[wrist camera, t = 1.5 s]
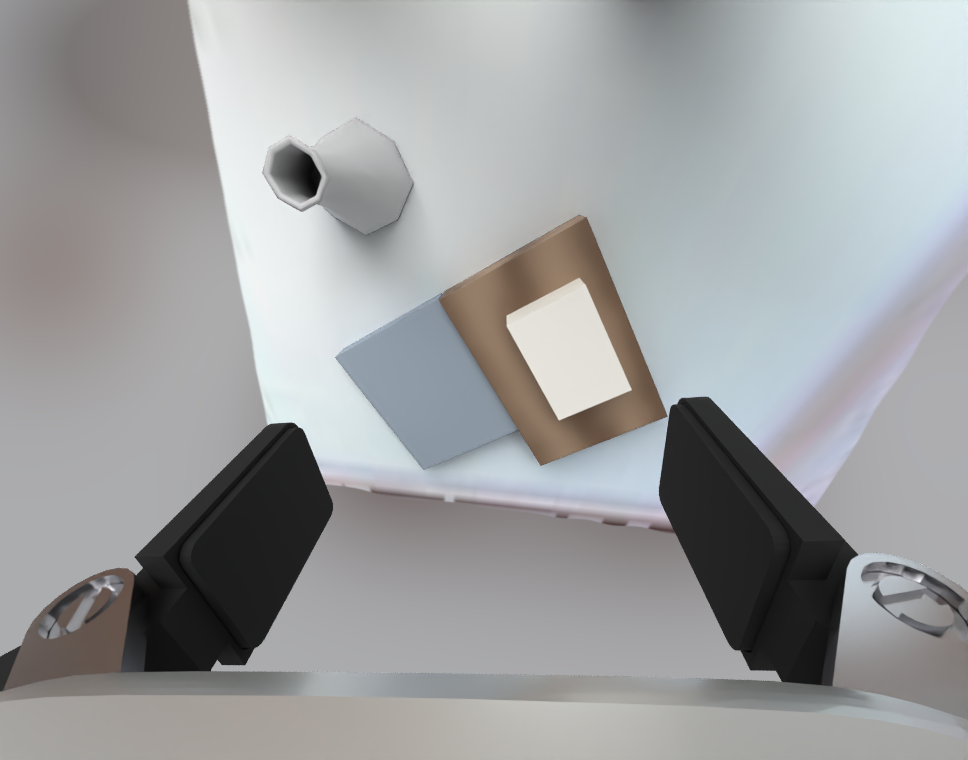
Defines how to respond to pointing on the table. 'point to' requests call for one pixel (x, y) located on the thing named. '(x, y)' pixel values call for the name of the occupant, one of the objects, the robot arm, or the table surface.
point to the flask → (342, 175)
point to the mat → (427, 385)
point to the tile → (568, 350)
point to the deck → (484, 331)
